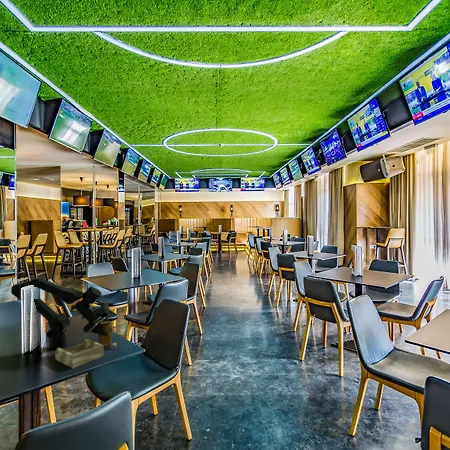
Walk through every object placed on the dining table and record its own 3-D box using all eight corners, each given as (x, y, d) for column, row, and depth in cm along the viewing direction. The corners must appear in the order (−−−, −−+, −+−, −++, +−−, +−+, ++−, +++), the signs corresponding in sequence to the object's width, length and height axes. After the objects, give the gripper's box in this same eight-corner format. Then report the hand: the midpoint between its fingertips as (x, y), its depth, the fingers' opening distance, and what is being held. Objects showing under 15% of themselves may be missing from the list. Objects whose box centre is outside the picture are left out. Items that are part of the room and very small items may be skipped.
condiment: (98, 345, 150) (98, 320, 150) (116, 343, 153) (116, 319, 152) (96, 351, 143) (95, 325, 143) (115, 349, 145) (115, 323, 145)
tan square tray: (55, 359, 135) (55, 347, 135) (85, 348, 146) (85, 338, 146) (72, 368, 126) (72, 356, 126) (103, 356, 138) (103, 345, 138)
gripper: (89, 303, 139) (114, 328, 138) (105, 294, 157) (127, 315, 157) (72, 321, 139) (96, 345, 139) (90, 309, 157) (112, 331, 157)
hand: (109, 333), depth 148 cm, fingers closed on condiment, 6 cm apart
